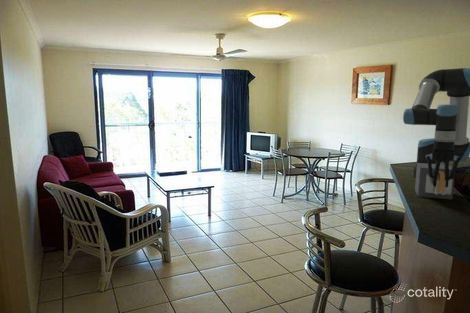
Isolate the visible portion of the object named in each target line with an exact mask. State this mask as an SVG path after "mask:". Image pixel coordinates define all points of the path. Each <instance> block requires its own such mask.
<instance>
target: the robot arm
mask: <svg viewBox="0 0 470 313" xmlns="http://www.w3.org/2000/svg"><path fill="white" fill-rule="evenodd" d="M438 92H441V93H442V92H446V96H447V97H449V104H438V105H437V107H436V108H431V105H432V103H433V100H434V98H435V95H436V94H437V93H438ZM469 104H470V67H461V68H460V67H459V68H458V67H457V68H446V69H445V68H443V69H438V70H435V71H433V72H431V73H429V74H427V75H426V76H424V77H423V79H422V80H421V81H420V83H419V85H418V93H417V95H416V97H415V100H414V102H413V104H412V106H411V108H405V109H404V110H403V116H402V120H403V123H404V124H405V125H411V126H418V125H419V126H435V129H434V137H433V138H423V139H419V140H418V144H417V154H416V163H415V166H414V168H413V171H412V176H413V177H414V178H416V170H417V163H428V173H429V177H430V178H433V186H435V194H437V195H438V186H439V179H437V177H438V172H439V167H440V164H442V163H444V166H445V181H444V192H441V194H442V195H445V187H448V182H449V180H450V179H454V180H455V177H454V176H456V172H457V169H458V166H459V163H467V162H468V161H469V158H470V138H468V137H467V134H468V133H467V129H468V121H469V120H468V116H469ZM450 162H453V163H452V166H451V167H452V170H451V173H450V176H449V165H450ZM432 164H436V165H435V171H434V175H433V174H432Z"/></svg>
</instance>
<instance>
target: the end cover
mask: <svg viewBox="0 0 470 313" xmlns="http://www.w3.org/2000/svg"><path fill="white" fill-rule="evenodd" d="M433 175H434V174H433ZM449 176H450V175H449ZM437 179H439V186H438V194H441V192H444V181H445V174H444V173H443V172H442V171H439V172H438V177H437ZM425 186H426V187H425V192H426V193H435V186H433V178H430V177H429V173H426V185H425ZM451 190H452V179H450V180H449V182H448V187H445V194H450V195H451Z"/></svg>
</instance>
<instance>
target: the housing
mask: <svg viewBox="0 0 470 313" xmlns="http://www.w3.org/2000/svg"><path fill="white" fill-rule="evenodd" d="M416 164H417V170H416V177H415V186H414V191H415V192H416V195H417V197H418V198H419V197H420V198H432V199H445V200H453V196H454V186H455V176H456V175H455V176H454V179H452V190H451V195H450V194H445V195H442V194H438V195H437V194H435V193H426V192H425V187H426V186H425V185H426V173H428V163H417V162H416ZM435 165H436V164H432V174H434V171H435ZM451 170H452V166H451V165H450V164H449V175H450V173H451ZM439 171H442V172H443V173H444V174H445V166H444V164H443V163H440V167H439Z"/></svg>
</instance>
